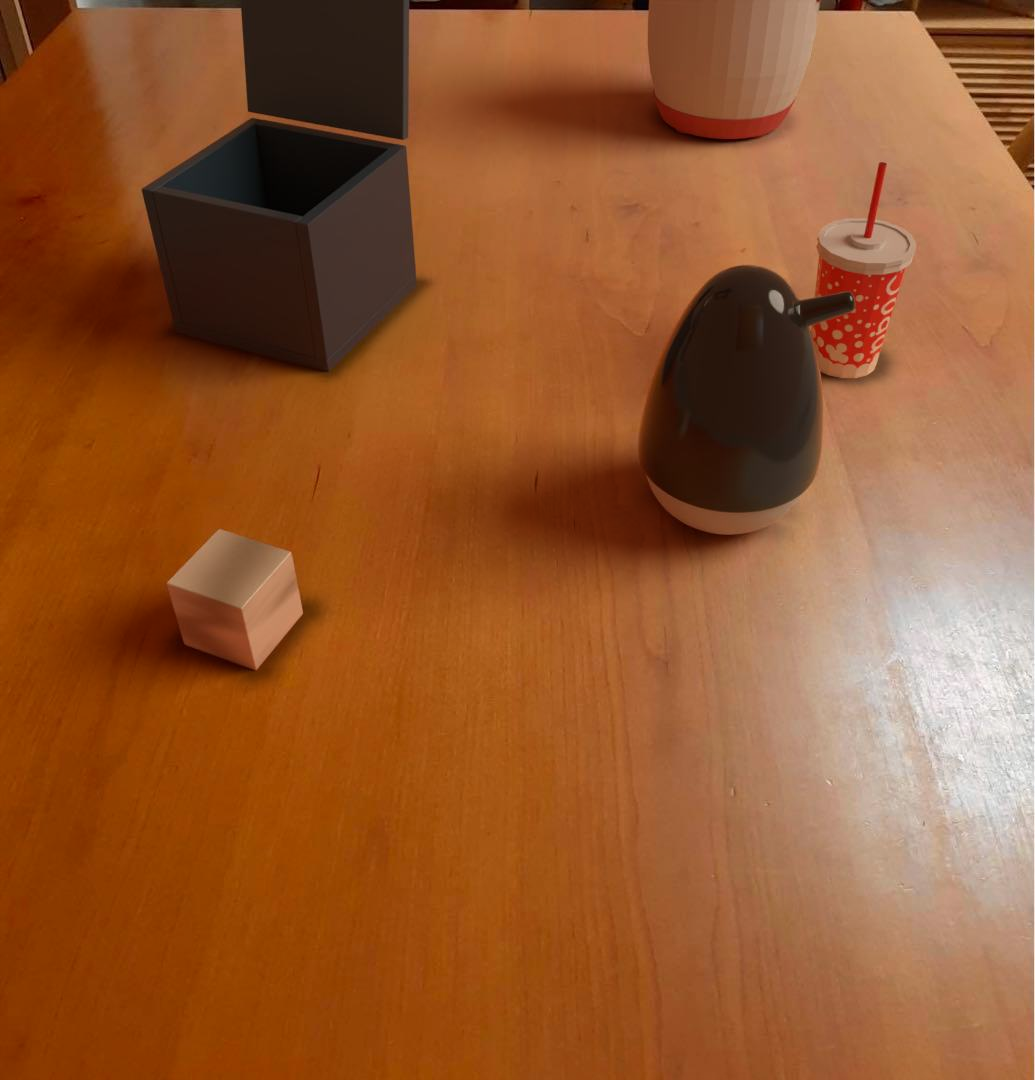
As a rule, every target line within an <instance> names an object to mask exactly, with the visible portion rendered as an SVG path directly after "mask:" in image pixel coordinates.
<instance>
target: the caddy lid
mask: <svg viewBox="0 0 1035 1080" xmlns="http://www.w3.org/2000/svg"><path fill="white" fill-rule="evenodd" d="M240 12H241V27H242V29H241V30H242V43H243V57H244V58H243V60H244V73H245V74H244V76H245V85H246V86H245V87H246V105H247V112H248V113H251V114H257V115H263V116H269V117H273V118H280V119H286V120H291V121H297V122H302V123H307V124H312V125H313V124H314V125H318V126H325V127H328V128H335V129H338V130H339V129H340V130H346V131H352V132H357V133H362V134H368V135H373V136H379V137H384V138H389V139H395V140H401V141H404V140H407V139H408V138H409V104H410V103H409V100H410V99H409V95H410V93H409V92H410V90H409V89H410V83H409V82H410V79H409V78H410V0H240Z"/></svg>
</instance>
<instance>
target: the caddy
mask: <svg viewBox="0 0 1035 1080" xmlns="http://www.w3.org/2000/svg"><path fill="white" fill-rule="evenodd" d="M407 153H408V152H407V146H406V145H404V144H399V143H392V142H388V141H381V140H376V139H371V138H365V137H360V136H355V135H349V134H345V133H337V132H333V131H327V130H322V129H317V128H311V127H306V126H300V125H295V124H289V123H283V122H278V121H274V120H267V119H261V118H257V117H251V118H249V119H247V120H246V121H245V122H243V123H241V124H239V125H238V126H236V127H235V128H233V129H232V130H230V131H229V132H228V133H226V134H224V135H223V136H221V137H220V138H218V139H217V140H215V141H213V142H212V143H210V144H208V145H207V146H206V147H204V148H202V149H201V150H199V151H198V152H196V153H195V154H193V155H192V156H190V157H189V158H187V159H186V160H184V161H182V162H181V163H179V164H178V165H176V166H174V167H173V168H172V169H170V170H169V171H167V172H166V173H164V174H162V175H161V176H158V178H156V179H154V180H152V181H151V182H150V183H148V184H146V185H145V186H143V187H142V188H141V193H142V197H143V202H144V206H145V210H146V214H147V218H148V223H149V227H150V232H151V235H152V239H153V243H154V247H155V248H154V249H155V251H156V256H157V262H158V264H159V268H160V272H161V278H162V281H163V285H164V289H165V295H166V297H167V302H168V306H169V310H170V315H171V319H172V324H173V327H174V331H175V333H177V334H181V335H184V336H188V337H192V338H196V339H199V340H204V341H208V342H212V343H215V344H219V345H223V346H225V347H231V348H234V349H239V350H241V351H242V350H243V351H246V352H250V353H254V354H257V355H261V356H265V357H269V358H273V359H276V360H281V361H285V362H287V363H292V364H295V365H300V366H304V367H307V368H311V369H315V370H320V371H323V372H327V373H330V371H331V370H333V368H334V367H336V366H337V364H339V362H341V361H342V360H343V358H345V357H346V356H347V355H348V354H349V353H350V352H351V351H352V350H353V349H354V348H355V347H356V346H357V345H358V344H359V343H360V342H361V341H362V340H363V339H364V338H365V337H366V336H367V335H368V334H369V333H370V332H371V331H372V330H373V329H374V328H375V327H376V326H378V324H379V323H380V322H382V320H384V318H385V317H387V316H388V315H389V314H390V313H391V312H392V311H393V310H394V308H395V307H396V306H398V305H399V304H400V302H401V301H402V300H404V299H405V298H406V297H407V296H408V295H409V294H410V293H411V292H412V291H413V290H414V289H415V288H416V287H417V285H418V282H417V270H416V269H417V268H416V257H415V255H416V254H415V244H414V243H415V242H414V241H415V240H414V229H413V218H412V217H413V216H412V205H411V204H412V203H411V192H410V179H409V165H408V154H407Z"/></svg>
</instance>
